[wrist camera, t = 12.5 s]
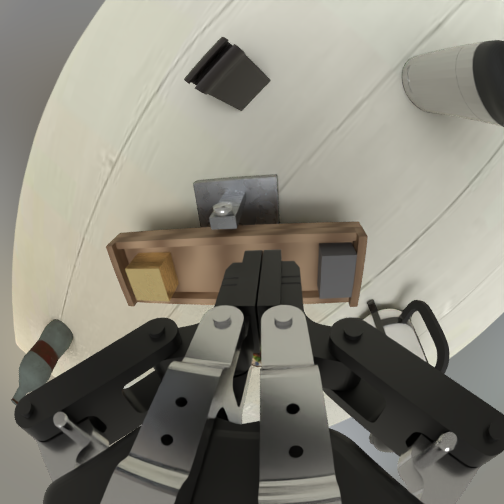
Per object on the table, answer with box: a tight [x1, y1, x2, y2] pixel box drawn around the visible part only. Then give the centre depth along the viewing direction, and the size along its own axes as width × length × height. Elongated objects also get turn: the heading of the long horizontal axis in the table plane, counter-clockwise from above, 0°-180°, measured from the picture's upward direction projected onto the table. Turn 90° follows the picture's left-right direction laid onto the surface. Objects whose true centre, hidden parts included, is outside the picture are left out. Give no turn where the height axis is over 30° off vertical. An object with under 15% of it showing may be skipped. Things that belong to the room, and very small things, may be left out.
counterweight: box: [317, 242, 357, 299], centre depth 32 cm, size 4×6×3 cm, turn 5°
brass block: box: [125, 252, 179, 302], centre depth 34 cm, size 5×5×4 cm
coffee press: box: [363, 300, 449, 452], centre depth 37 cm, size 17×16×30 cm
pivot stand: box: [193, 175, 279, 230], centre depth 39 cm, size 12×18×11 cm, turn 5°
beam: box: [106, 222, 368, 307], centre depth 34 cm, size 32×10×4 cm, turn 95°
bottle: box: [11, 319, 73, 406], centre depth 51 cm, size 9×9×30 cm
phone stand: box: [184, 37, 270, 111], centre depth 26 cm, size 9×6×12 cm, turn 48°
